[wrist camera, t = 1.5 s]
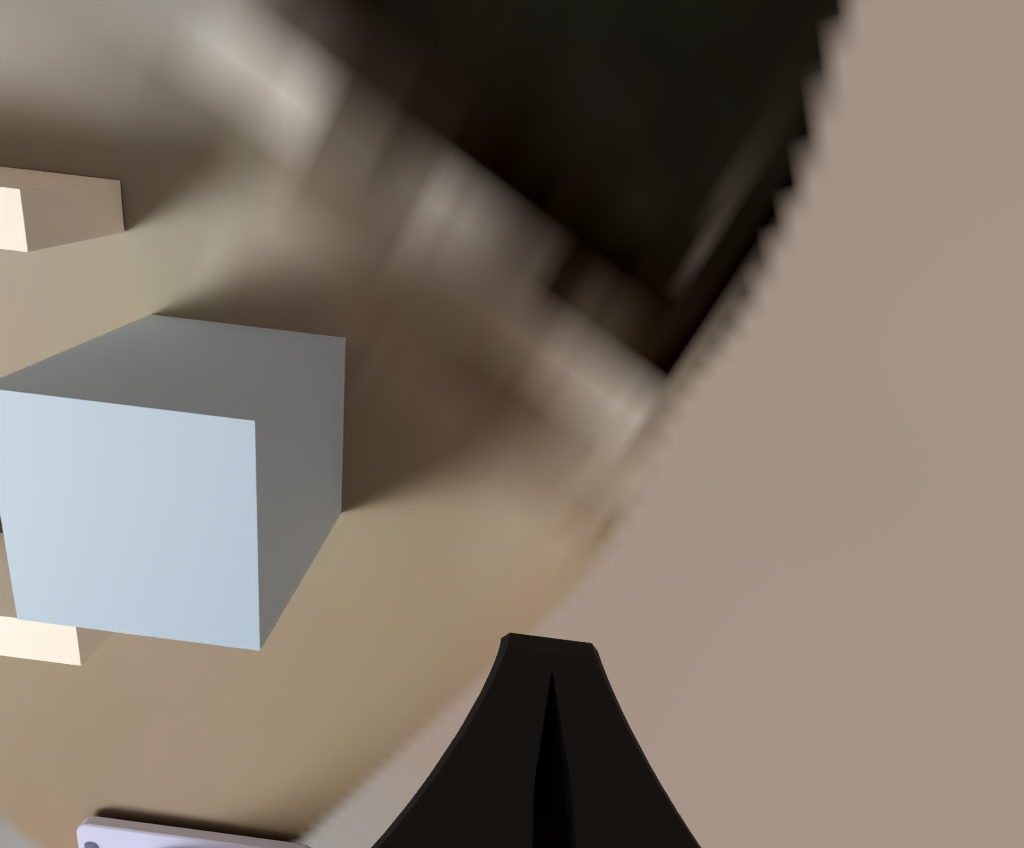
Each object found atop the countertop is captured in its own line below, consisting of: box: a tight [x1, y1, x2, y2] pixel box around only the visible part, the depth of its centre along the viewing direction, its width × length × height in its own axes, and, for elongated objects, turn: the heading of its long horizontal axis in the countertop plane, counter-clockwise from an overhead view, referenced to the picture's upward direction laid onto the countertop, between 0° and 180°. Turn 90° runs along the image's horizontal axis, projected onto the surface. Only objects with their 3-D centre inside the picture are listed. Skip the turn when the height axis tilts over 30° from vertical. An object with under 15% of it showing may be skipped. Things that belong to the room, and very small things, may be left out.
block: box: [0, 314, 346, 651], centre depth 17 cm, size 5×5×6 cm
